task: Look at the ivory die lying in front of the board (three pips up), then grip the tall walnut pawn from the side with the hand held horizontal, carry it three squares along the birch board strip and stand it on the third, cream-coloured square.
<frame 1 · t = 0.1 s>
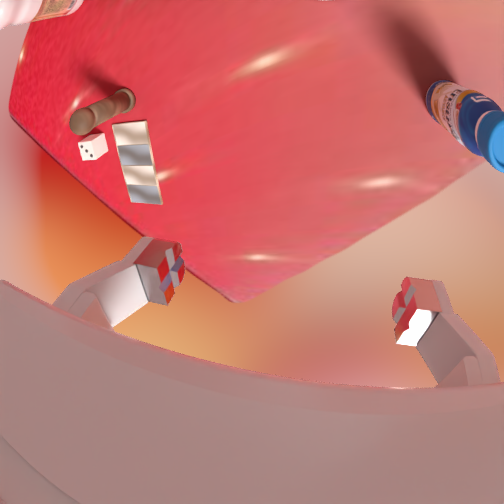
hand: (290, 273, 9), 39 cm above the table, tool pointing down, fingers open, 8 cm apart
board: (137, 164, 54), on the table
die: (99, 142, 52), on the table
pawn: (125, 100, 44), on the table
beverage bottle: (445, 102, 31), on the table
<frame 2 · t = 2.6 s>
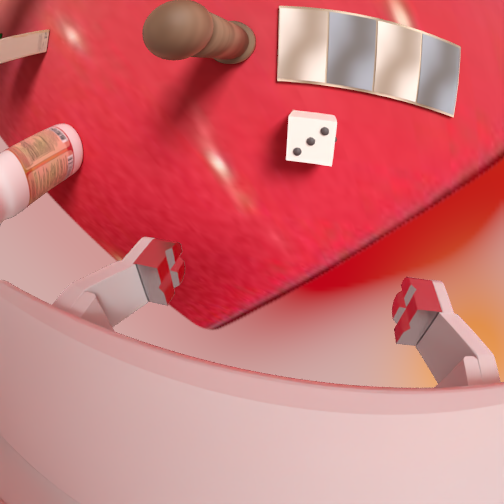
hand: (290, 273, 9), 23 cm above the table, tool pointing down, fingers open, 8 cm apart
board: (374, 55, 20), on the table
die: (312, 131, 28), on the table
pawn: (232, 42, 23), on the table
skincare box: (39, 42, 23), on the table
fruit juice: (67, 147, 35), on the table
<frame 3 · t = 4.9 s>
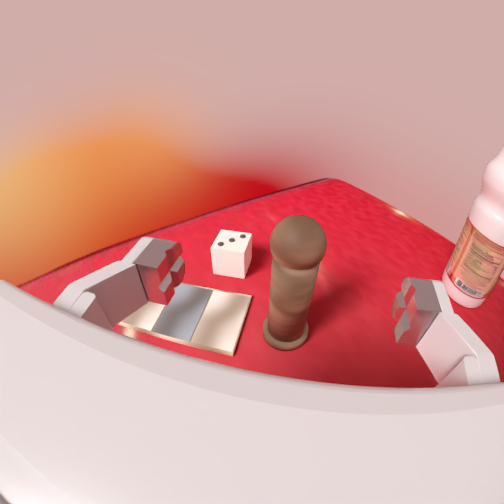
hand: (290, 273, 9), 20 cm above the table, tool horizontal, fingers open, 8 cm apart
board: (166, 308, 33), on the table
die: (233, 265, 40), on the table
pawn: (285, 332, 31), on the table
fruit juice: (461, 290, 35), on the table
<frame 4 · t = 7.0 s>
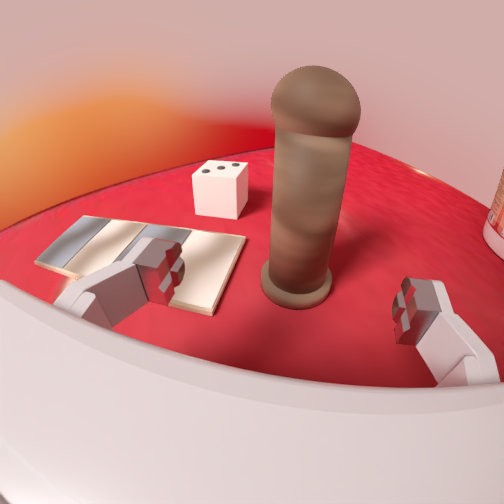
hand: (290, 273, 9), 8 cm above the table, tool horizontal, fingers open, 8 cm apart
board: (126, 253, 23), on the table
die: (222, 206, 30), on the table
pawn: (295, 283, 21), on the table
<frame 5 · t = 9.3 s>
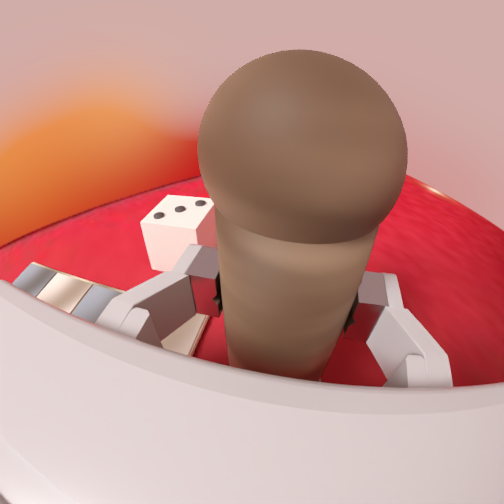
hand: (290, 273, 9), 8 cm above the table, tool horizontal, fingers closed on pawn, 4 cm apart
board: (67, 326, 16), on the table
die: (187, 256, 23), on the table
pawn: (271, 391, 14), on the table, touching gripper
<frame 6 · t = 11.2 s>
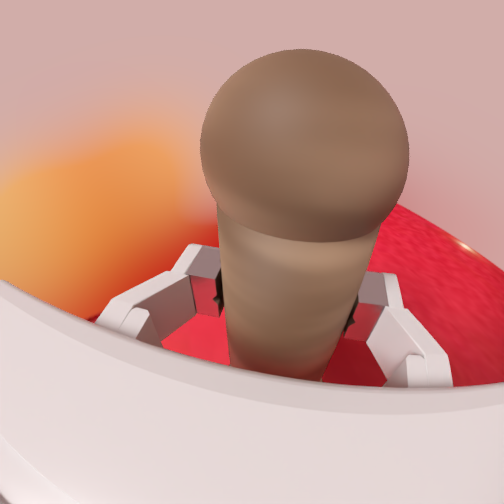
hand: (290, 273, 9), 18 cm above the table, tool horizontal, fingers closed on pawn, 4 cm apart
pawn: (272, 391, 14), point 10 cm above the table, touching gripper
when the fingers open (10 cm above the table, at t = 13.3 s): pawn drops 1 cm, resting on board.
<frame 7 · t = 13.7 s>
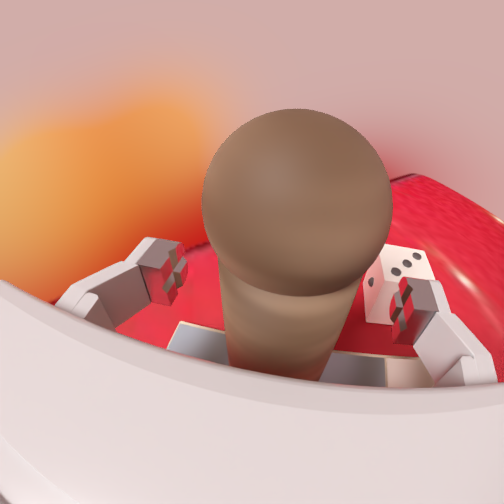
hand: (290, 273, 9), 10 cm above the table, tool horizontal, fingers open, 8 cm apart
board: (309, 409, 14), on the table
die: (388, 304, 21), on the table
pawn: (269, 400, 15), point 1 cm above the table, touching board
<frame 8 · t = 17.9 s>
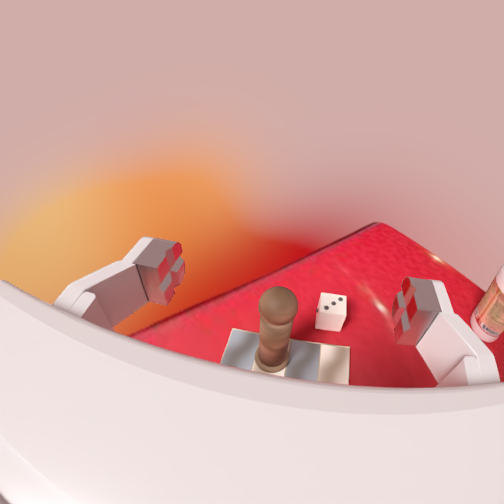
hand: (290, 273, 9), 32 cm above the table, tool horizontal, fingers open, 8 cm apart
board: (287, 362, 41), on the table
die: (328, 320, 47), on the table
pawn: (271, 358, 41), resting on board
fruit juice: (483, 328, 42), on the table
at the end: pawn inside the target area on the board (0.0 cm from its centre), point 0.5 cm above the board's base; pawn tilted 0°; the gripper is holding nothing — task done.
